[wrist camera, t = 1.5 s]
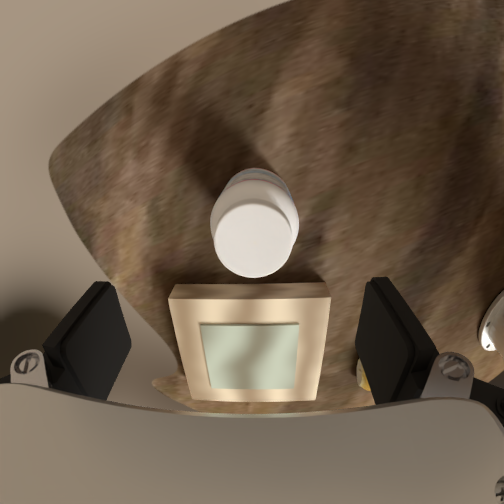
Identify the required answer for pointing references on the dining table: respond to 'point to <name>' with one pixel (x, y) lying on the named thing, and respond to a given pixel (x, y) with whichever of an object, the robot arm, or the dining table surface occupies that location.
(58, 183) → the dining table surface
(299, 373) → the birch plinth
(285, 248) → the pill bottle
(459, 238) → the dining table surface
